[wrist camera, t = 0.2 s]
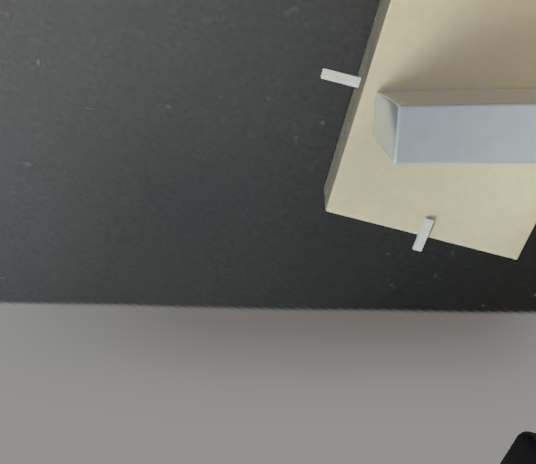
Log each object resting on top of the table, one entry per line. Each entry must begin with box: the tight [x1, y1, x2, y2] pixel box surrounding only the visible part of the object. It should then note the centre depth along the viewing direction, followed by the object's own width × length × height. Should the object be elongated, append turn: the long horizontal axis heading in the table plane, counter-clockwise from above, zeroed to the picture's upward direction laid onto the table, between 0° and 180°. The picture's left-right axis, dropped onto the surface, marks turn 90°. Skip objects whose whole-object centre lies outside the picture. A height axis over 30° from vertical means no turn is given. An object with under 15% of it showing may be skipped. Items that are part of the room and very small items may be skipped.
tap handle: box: [373, 88, 536, 164], centre depth 14 cm, size 7×2×5 cm, turn 92°
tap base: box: [320, 0, 536, 260], centre depth 17 cm, size 11×11×3 cm
